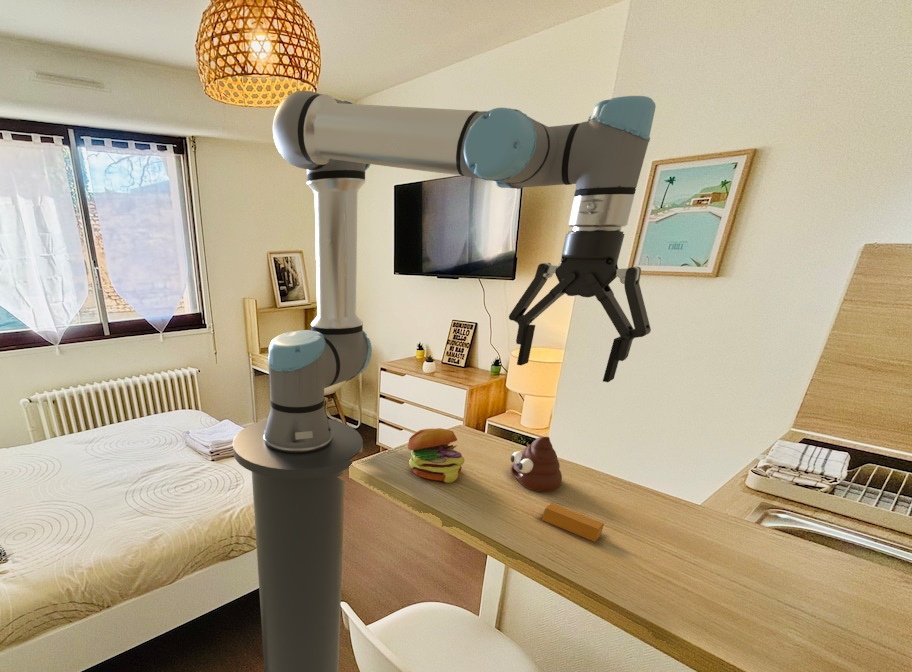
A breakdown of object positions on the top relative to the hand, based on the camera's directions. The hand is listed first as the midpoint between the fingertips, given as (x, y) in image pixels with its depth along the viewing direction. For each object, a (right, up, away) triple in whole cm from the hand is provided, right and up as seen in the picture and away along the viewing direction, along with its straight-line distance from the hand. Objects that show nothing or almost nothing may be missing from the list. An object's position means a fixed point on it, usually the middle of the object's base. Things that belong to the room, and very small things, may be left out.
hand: (562, 371), depth 77 cm
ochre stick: (0, -25, -3) cm, 26 cm away
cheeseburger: (-18, -17, +15) cm, 29 cm away
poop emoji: (0, -19, +11) cm, 22 cm away
